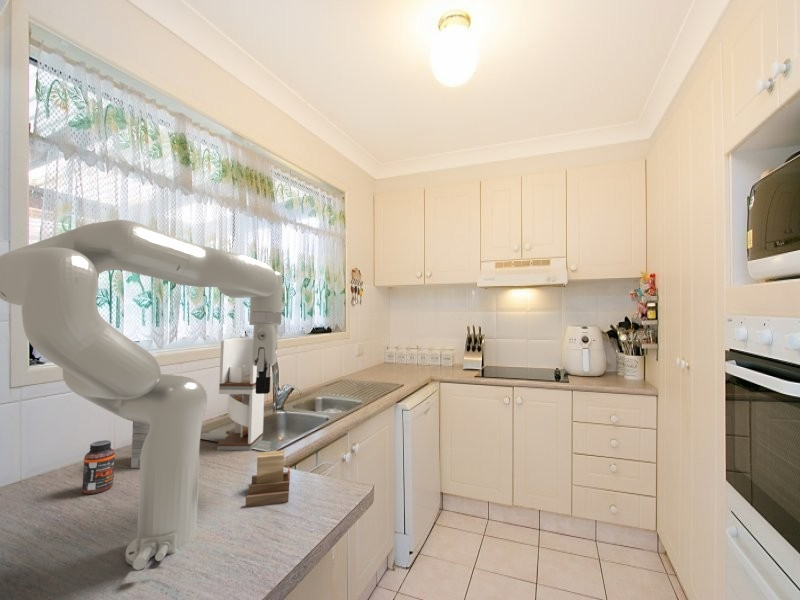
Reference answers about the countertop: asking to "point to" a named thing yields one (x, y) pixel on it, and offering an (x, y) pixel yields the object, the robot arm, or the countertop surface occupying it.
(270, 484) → the rack
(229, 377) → the display case
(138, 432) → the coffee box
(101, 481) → the supplement bottle
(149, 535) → the robot arm
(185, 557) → the countertop surface
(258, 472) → the block
